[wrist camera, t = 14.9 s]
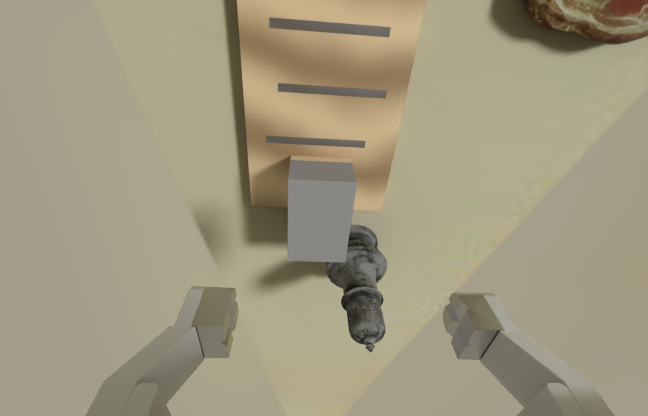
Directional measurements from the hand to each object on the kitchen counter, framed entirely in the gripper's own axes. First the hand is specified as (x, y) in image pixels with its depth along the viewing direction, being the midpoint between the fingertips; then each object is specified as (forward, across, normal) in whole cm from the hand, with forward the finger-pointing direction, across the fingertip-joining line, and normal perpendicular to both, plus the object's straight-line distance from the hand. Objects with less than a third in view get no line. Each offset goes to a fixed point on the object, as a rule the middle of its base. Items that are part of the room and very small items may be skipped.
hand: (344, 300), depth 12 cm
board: (+17, 0, -6) cm, 18 cm away
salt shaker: (+17, -4, +12) cm, 21 cm away
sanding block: (+16, 0, +6) cm, 17 cm away
